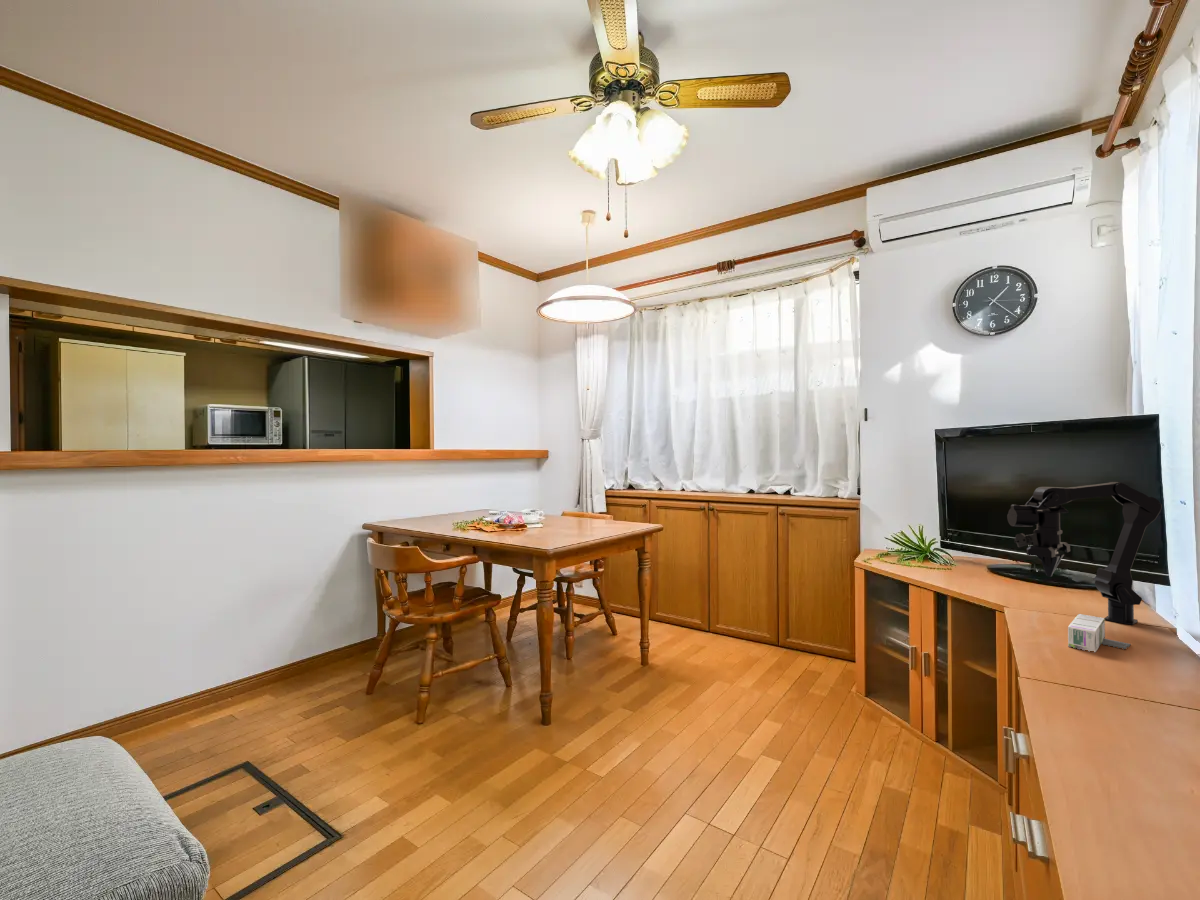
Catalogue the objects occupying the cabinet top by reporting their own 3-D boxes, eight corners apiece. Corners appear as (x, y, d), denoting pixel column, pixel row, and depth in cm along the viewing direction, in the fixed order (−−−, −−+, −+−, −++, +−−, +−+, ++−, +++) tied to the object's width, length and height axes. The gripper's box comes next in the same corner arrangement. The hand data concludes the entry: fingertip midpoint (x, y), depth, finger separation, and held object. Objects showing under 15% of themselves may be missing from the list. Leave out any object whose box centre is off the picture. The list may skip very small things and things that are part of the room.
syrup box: (1077, 613, 154) (1065, 625, 145) (1106, 617, 149) (1095, 631, 140) (1078, 632, 154) (1066, 647, 145) (1106, 638, 150) (1095, 653, 140)
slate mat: (1086, 636, 153) (1086, 634, 153) (1130, 645, 146) (1130, 643, 146) (1080, 640, 150) (1080, 638, 150) (1125, 649, 143) (1125, 648, 143)
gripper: (1028, 522, 183) (1028, 568, 183) (1006, 526, 172) (1007, 575, 172) (1070, 525, 174) (1071, 574, 174) (1050, 530, 163) (1051, 582, 163)
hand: (1049, 576), depth 171 cm, fingers closed
